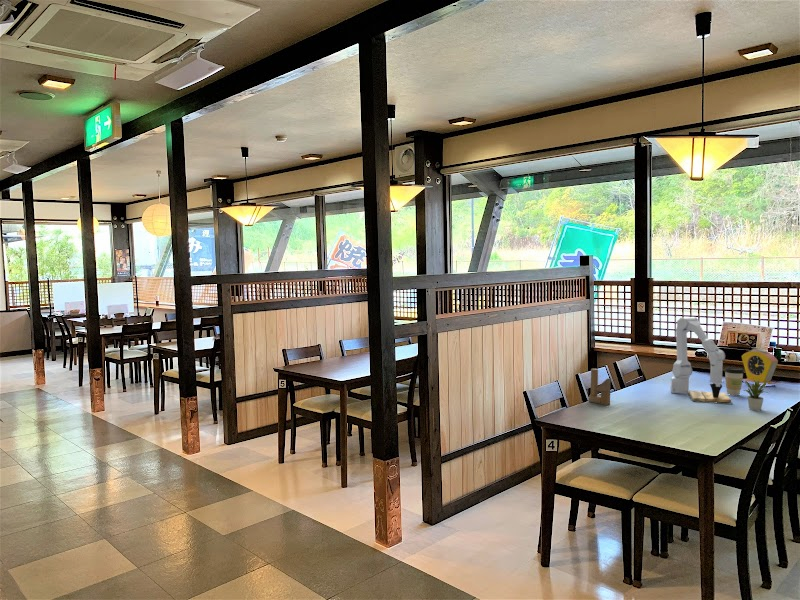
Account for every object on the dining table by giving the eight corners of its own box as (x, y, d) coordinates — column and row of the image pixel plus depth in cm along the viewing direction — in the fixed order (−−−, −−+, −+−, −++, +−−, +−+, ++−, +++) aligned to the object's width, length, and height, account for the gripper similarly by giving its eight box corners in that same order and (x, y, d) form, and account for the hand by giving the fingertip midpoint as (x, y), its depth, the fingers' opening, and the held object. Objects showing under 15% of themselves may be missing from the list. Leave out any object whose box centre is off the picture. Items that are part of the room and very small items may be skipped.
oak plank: (706, 401, 323) (706, 398, 323) (703, 397, 332) (703, 395, 332) (731, 402, 319) (731, 399, 319) (728, 398, 328) (728, 396, 328)
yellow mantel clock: (737, 381, 378) (738, 347, 377) (749, 380, 381) (750, 346, 380) (768, 388, 357) (769, 352, 356) (780, 387, 360) (781, 351, 359)
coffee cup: (741, 397, 333) (742, 370, 332) (722, 395, 339) (722, 368, 338) (744, 394, 341) (745, 368, 340) (725, 392, 347) (725, 366, 346)
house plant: (778, 414, 297) (779, 381, 296) (747, 412, 300) (748, 380, 299) (766, 407, 311) (767, 376, 310) (737, 406, 314) (738, 375, 313)
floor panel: (693, 401, 325) (693, 397, 325) (688, 393, 343) (688, 390, 343) (732, 404, 318) (732, 400, 318) (725, 396, 337) (726, 392, 337)
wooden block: (606, 405, 316) (607, 371, 315) (588, 401, 325) (589, 368, 323) (610, 404, 319) (611, 370, 317) (592, 400, 327) (593, 368, 326)
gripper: (727, 375, 317) (726, 400, 317) (722, 370, 330) (721, 395, 331) (712, 374, 319) (711, 399, 320) (708, 370, 333) (707, 394, 333)
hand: (715, 397), depth 326 cm, fingers closed, pressing on oak plank
